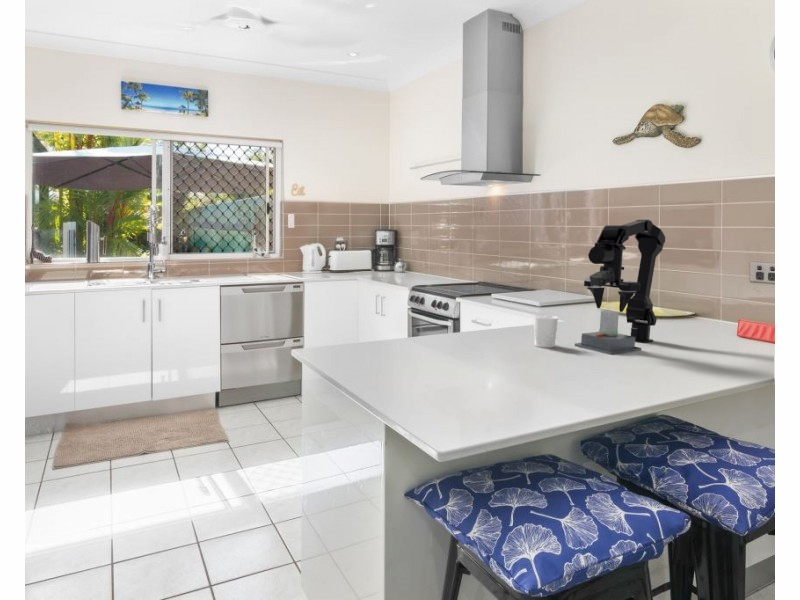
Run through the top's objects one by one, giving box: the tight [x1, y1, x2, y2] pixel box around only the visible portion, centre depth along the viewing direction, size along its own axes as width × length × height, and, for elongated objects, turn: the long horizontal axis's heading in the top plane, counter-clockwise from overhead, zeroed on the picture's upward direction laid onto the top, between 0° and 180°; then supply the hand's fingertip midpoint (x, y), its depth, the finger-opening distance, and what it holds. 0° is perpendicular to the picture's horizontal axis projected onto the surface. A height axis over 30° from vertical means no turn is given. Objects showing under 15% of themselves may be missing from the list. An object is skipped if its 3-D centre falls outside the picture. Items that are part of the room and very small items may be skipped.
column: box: [598, 310, 620, 337], centre depth 189 cm, size 4×4×8 cm
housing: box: [574, 331, 642, 356], centre depth 190 cm, size 15×15×5 cm
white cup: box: [533, 314, 559, 349], centre depth 192 cm, size 8×8×10 cm
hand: (609, 310), depth 189 cm, fingers open, 9 cm apart
